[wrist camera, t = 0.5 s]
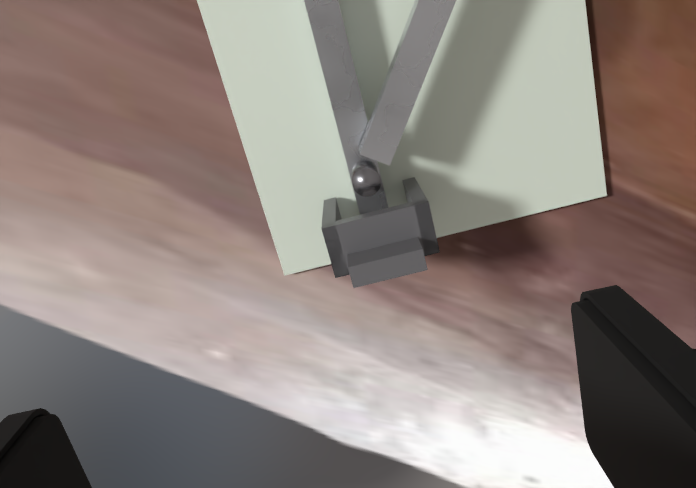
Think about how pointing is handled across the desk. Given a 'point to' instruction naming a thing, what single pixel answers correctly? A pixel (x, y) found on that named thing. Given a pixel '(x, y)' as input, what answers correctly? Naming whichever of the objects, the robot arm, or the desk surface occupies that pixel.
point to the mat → (415, 112)
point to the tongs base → (345, 101)
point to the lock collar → (381, 239)
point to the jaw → (405, 78)
